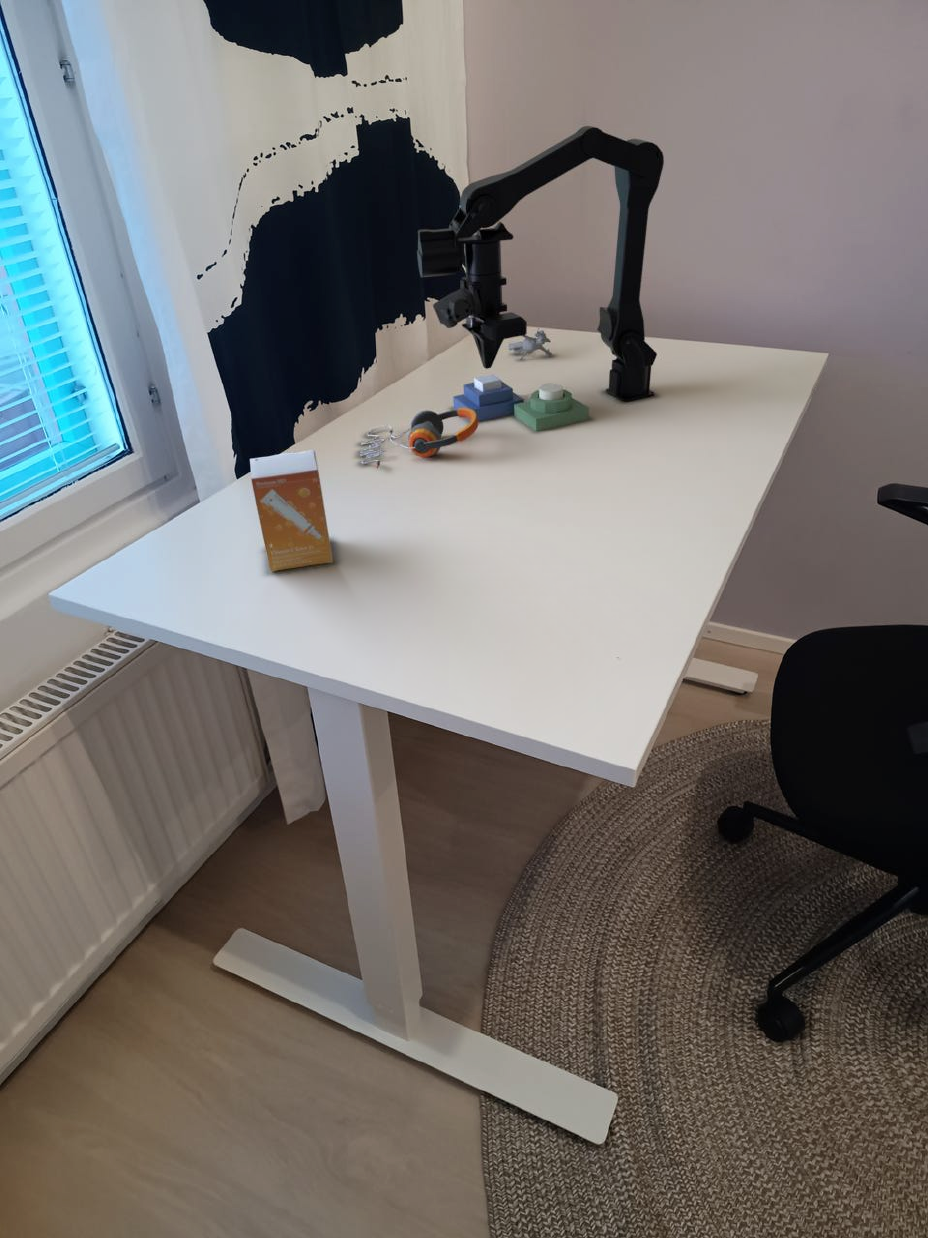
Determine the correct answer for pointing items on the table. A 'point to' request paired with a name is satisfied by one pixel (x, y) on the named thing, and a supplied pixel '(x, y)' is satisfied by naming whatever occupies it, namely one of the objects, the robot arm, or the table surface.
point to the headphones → (427, 433)
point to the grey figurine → (531, 344)
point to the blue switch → (488, 401)
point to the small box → (291, 510)
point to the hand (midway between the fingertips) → (487, 367)
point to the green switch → (550, 411)
